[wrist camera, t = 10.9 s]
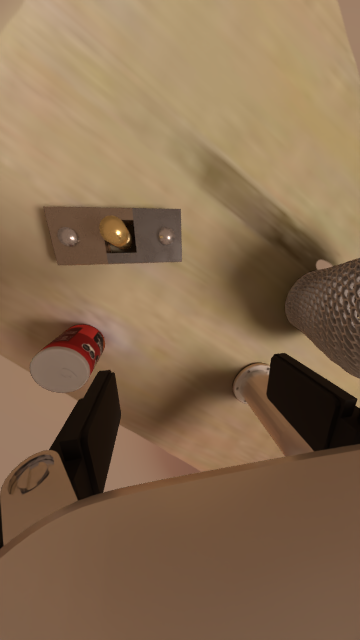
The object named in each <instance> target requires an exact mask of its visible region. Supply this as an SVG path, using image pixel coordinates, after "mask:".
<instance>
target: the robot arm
mask: <svg viewBox="0 0 360 640" xmlns="http://www.w3.org/2000/svg"><path fill="white" fill-rule="evenodd" d="M233 392H234V395H235V396H236V398H237V399H238V400H239V401H240V402H242V403H245V404H248V405H249V406H250V408H251V409H252V410H253V412H254V413H255V415H256V416H257V417H258V419H259V420H260V422H261V423H262V424H263V426H264V427H265V429H266V430H267V431H268V433H269V434H270V436H271V437H272V439H273V440H274V441H275V443H276V444H277V446H278V447H279V448H280V450H281V451H282V453H283V454H284V456H285V457H281V458H275V459H270V460H264V461H258V462H253V463H247V464H242V465H237V466H231V467H226V468H220V469H215V470H210V471H204V472H200V473H194V474H188V475H183V476H178V477H173V478H167V479H162V480H157V481H152V482H148V483H143V484H139V485H133V486H128V487H124V488H119V489H115V490H111V491H108V492H104V493H103V490H104V487H105V482H106V478H107V474H108V470H109V465H110V461H111V457H112V452H113V448H114V444H115V440H116V436H117V431H118V427H119V423H120V418H121V410H120V404H119V398H118V391H117V385H116V378H115V373H114V372H112V373H111V371H110V370H105V371H99V372H98V373H97V375H96V377H95V379H94V380H93V382H92V384H91V386H90V387H89V389H88V391H87V393H86V395H85V396H84V398H82V399H80V400H79V401H78V402H77V404H76V405H75V407H74V409H73V410H72V412H71V414H70V416H69V417H68V419H67V421H66V422H65V424H64V426H63V427H62V429H61V431H60V432H59V434H58V436H57V437H56V439H55V441H54V443H53V444H52V446H51V448H50V449H49V450H45V451H41V452H39V453H36V454H34V455H32V456H30V457H28V458H27V459H25V460H24V461H23V462H21V463H20V464H19V465H18V466H17V467H16V468H15V469H14V470H12V472H11V473H10V474H9V475H8V477H7V478H6V479H5V481H4V483H3V485H2V487H1V492H0V640H360V408H358V407H357V406H355V405H356V402H357V398H355V397H354V396H352V395H350V394H349V393H347V392H346V391H344V390H342V389H341V388H339V387H338V386H336V385H335V384H333V383H331V382H330V381H328V380H327V379H325V378H324V377H322V376H320V375H319V374H317V373H316V372H314V371H313V370H311V369H309V368H308V367H306V366H305V365H303V364H302V363H300V362H298V361H297V360H295V359H294V358H292V357H291V356H289V355H287V354H286V353H280V354H274V356H273V357H272V358H271V363H270V366H269V365H267V364H264V363H256V364H252V365H250V366H247V367H246V368H244V369H243V370H242V371H241V372H240V373H239V374H238V375H237V377H236V378H235V380H234V383H233Z"/></svg>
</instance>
